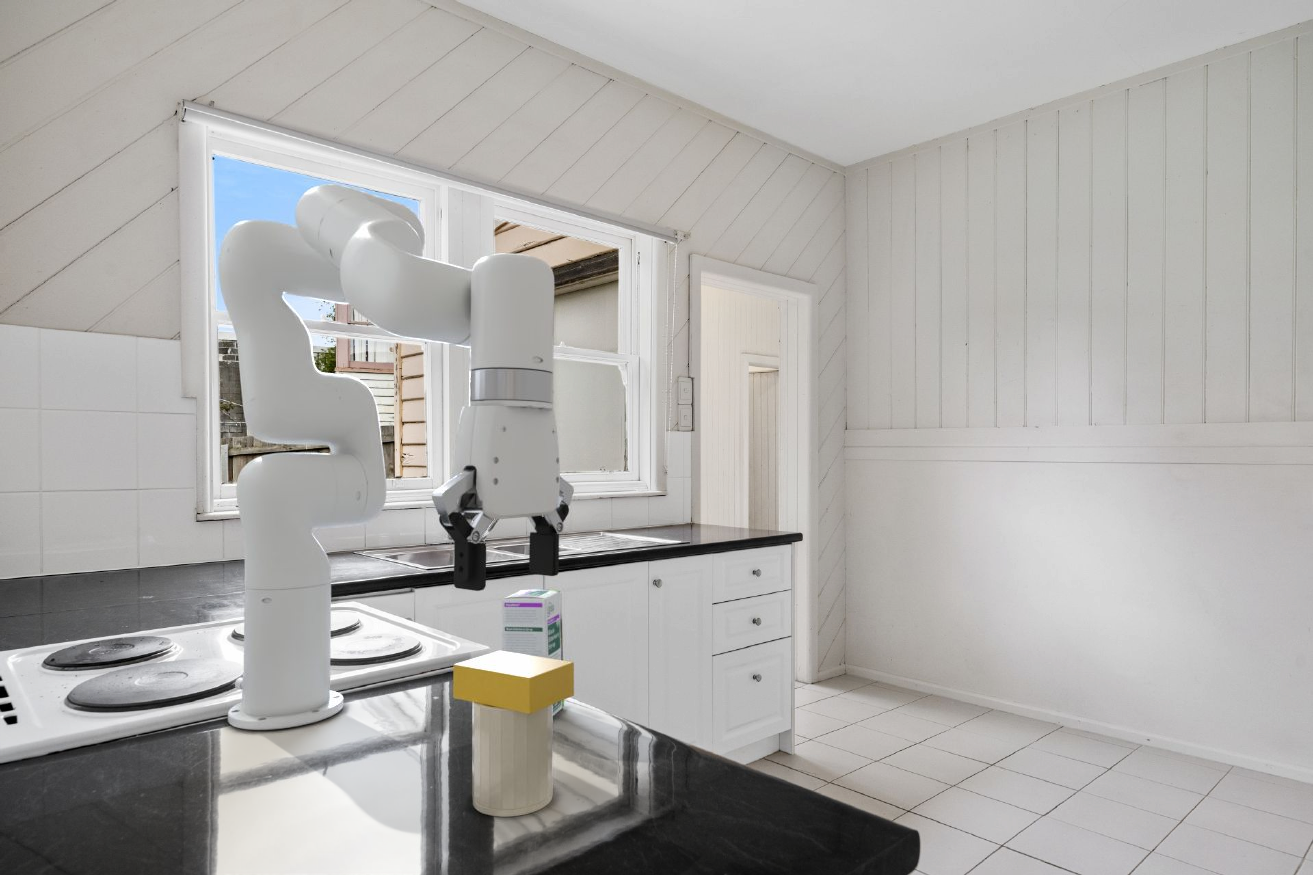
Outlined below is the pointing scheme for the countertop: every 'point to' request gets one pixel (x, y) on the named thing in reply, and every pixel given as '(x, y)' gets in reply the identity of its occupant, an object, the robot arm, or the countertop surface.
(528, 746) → the cup
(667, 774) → the countertop surface
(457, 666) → the block
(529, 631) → the syrup box
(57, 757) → the countertop surface
